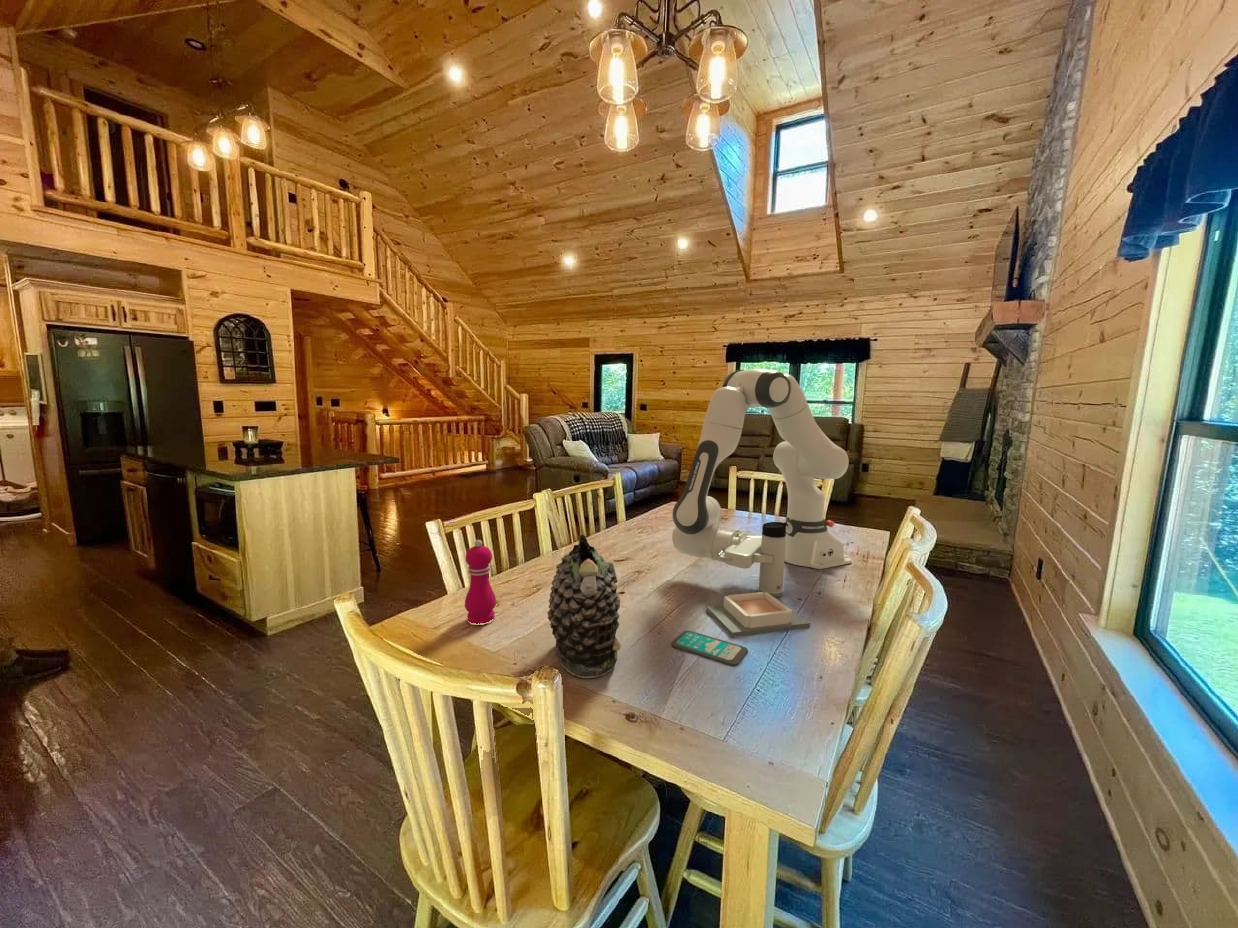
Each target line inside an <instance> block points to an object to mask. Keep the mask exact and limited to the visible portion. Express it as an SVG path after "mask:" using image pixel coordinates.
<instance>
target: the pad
mask: <svg viewBox="0 0 1238 928" xmlns="http://www.w3.org/2000/svg"><path fill="white" fill-rule="evenodd" d="M735 603H736V604H737V605H738V606H739V607H741V608H742V609H743V610H744V611H745V612H746V613H747V614H749V615H751V614H759V613H768V612H776V611H778V610H777V609H776V608H775V607H773V606H772V605H771V604H769V603H768V602H767V601H765V600H764V599H759V600H750V601H741V602H735Z"/></svg>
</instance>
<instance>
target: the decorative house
mask: <svg viewBox="0 0 1238 928" xmlns="http://www.w3.org/2000/svg"><path fill="white" fill-rule="evenodd" d="M560 559H561V562H560V563H558V564H556V566H555V567H556V571H555V574H554V576H553V579H552V581H551V585H552V586H551V587H550V593H549V599H548V602H549V605H548V608H549V609H548V611H547V619H548V621H549V622H550V624H549V626H550V628H551V631H552V633H551V634H552V635H553V636H554V639H555V649H556V653H557V656H558V660H559V663H560V665H561V666H562V667H563V669H565V670H566V671H567V672H568V673H570V674H571V675H573V676H576V677H578V678H583V679H593V678H598V677H601V676H605V675H607V673H609V672H610V671H612V670H613V669H614V668H615V666H616V663H617V661H618V651H619V650H621V649H622V644H621V643H620V641H619V640H618V638H617V637H616V636H617V634H616V633H617V631H618V628H619V626H620V623H619V621H618V620H619V618H620V614H619V612H618V610H619V609H620V607H621V600H620V597H619V595H618V594H617V588H618V585H617V584H616V583H618V576H617V573H616V569H615V566H614V563H613V562H612V561H609V562H608V561H607V562H606V560H605V558H604V557H603V556H602V555H600V554H599V553H598V550H597V549H595V547H594V546H592V545H590V544H589V542H588V540H587V537H586V536H585V535H584V534H581V535H580V537H579V539H578V544H574V545H573V547H572V549H571V550H570V551H569V552H568V553H567V554H565V555H563V557H561V558H560Z"/></svg>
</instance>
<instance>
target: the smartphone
mask: <svg viewBox="0 0 1238 928" xmlns="http://www.w3.org/2000/svg"><path fill="white" fill-rule="evenodd" d="M671 647H672V648H674V649H677V650H678V651H682V652H685V653H688V654H692V655H695V656H699V657H701V658H704V659H707V660H711V661H713V662H717V663H719V664H720V663H721V664H722V665H726V666H729V667H738V666H739V665H740V664H741V663H742V661H743V660H744V659H745V657H746V656H747V654H748V653H749V650H748V648H747V647H746V646H743V645H740V644H736V643H733V642H730V641H726V640H722V639H720V638H716V637H713V636H710V635H706V634H703V633H699V632H696V631H692V630H685V631H683V632H681V633H680V634H679V635H678V636H677V637H676V638H675V639H674V640H673V641H671Z"/></svg>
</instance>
